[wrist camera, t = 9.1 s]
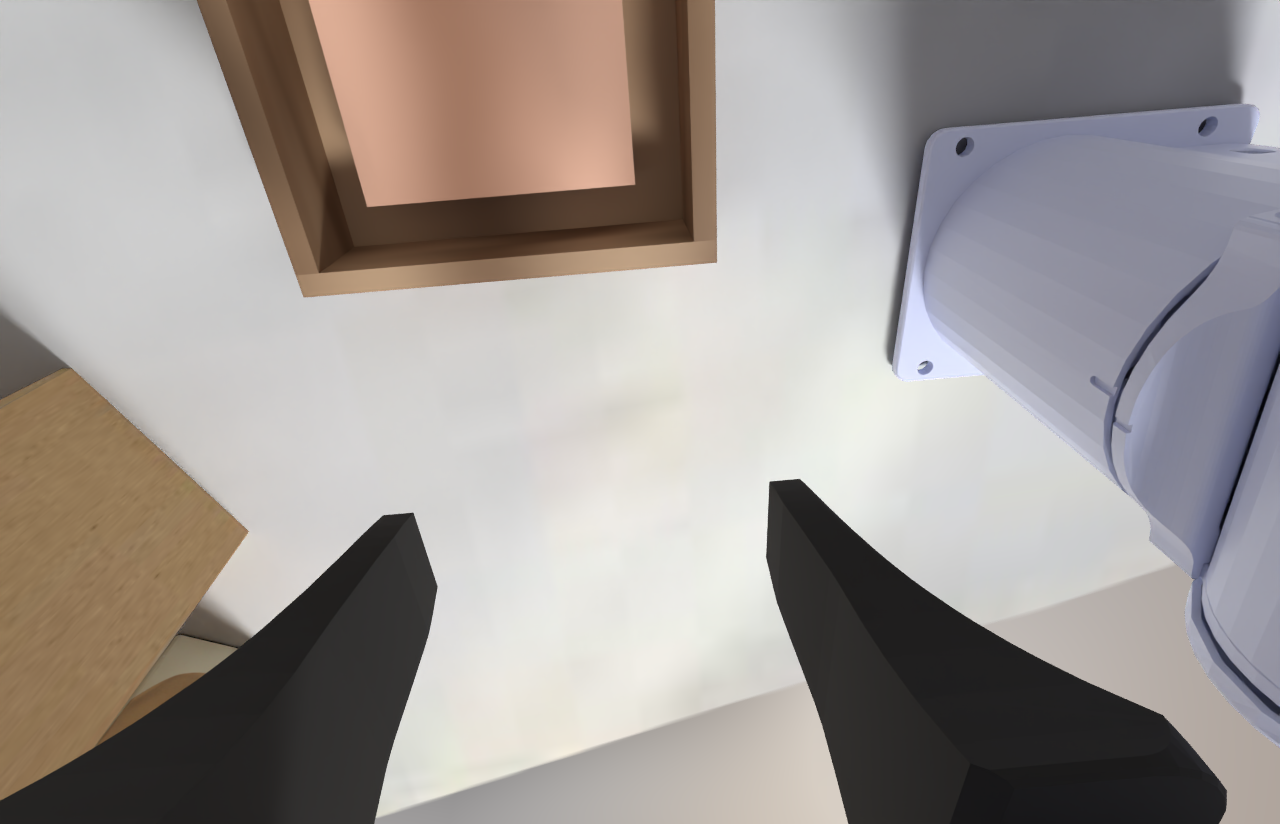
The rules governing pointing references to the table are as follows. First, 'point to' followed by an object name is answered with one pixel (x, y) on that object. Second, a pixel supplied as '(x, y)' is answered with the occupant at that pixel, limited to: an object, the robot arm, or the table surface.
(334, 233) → the walnut box
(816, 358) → the table surface
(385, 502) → the table surface
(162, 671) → the skincare box
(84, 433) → the sandwich container
